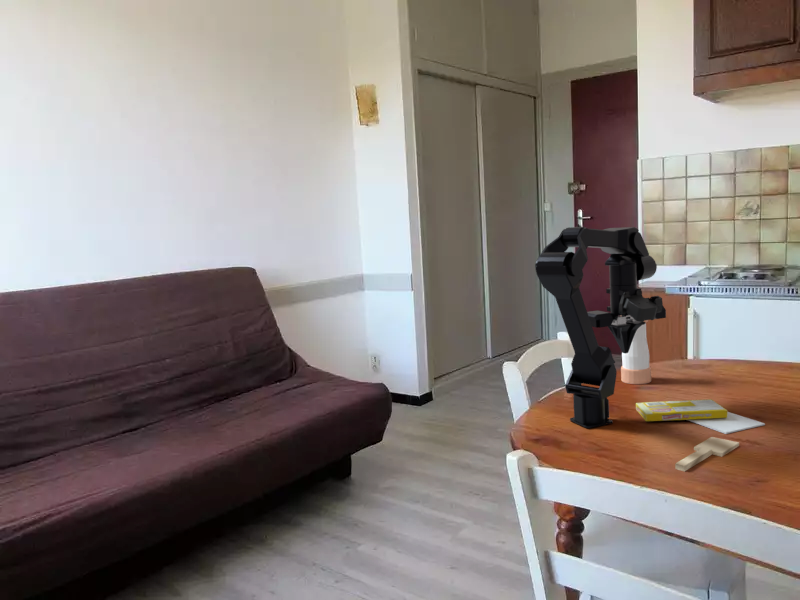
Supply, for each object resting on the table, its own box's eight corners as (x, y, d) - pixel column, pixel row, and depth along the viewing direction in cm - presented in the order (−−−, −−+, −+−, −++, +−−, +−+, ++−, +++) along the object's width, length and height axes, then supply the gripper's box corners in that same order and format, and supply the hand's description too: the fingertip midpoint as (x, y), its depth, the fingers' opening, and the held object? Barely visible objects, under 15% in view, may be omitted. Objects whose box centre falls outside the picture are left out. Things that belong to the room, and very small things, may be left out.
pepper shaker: (630, 375, 172) (628, 304, 169) (656, 379, 166) (654, 305, 164) (615, 381, 167) (613, 308, 164) (642, 385, 162) (640, 309, 159)
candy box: (728, 420, 132) (712, 406, 140) (728, 409, 132) (712, 397, 140) (645, 423, 134) (635, 410, 142) (645, 413, 134) (635, 400, 142)
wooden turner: (694, 474, 109) (694, 468, 108) (666, 466, 112) (665, 461, 112) (739, 445, 119) (739, 440, 119) (711, 439, 123) (711, 434, 123)
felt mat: (725, 434, 125) (725, 432, 125) (665, 412, 140) (665, 411, 140) (764, 424, 129) (764, 423, 129) (702, 404, 144) (702, 403, 144)
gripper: (611, 291, 134) (613, 365, 136) (683, 282, 140) (685, 353, 142) (579, 287, 144) (581, 356, 146) (647, 279, 150) (649, 345, 152)
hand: (625, 352), depth 146 cm, fingers closed
